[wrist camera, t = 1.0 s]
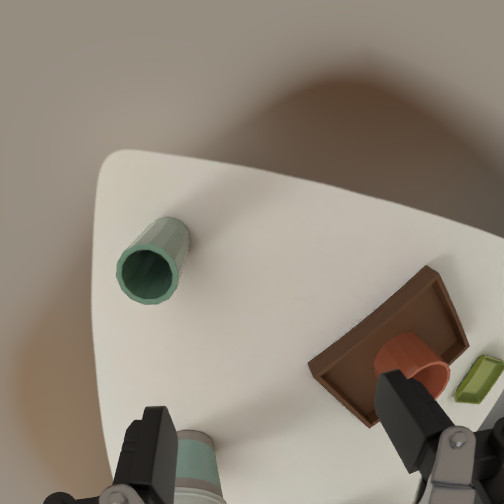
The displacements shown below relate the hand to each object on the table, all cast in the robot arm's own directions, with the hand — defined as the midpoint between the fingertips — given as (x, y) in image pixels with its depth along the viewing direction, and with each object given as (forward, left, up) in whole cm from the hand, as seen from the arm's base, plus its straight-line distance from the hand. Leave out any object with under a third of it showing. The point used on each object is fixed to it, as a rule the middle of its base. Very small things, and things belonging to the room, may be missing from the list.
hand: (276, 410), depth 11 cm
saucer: (-15, +41, -20) cm, 48 cm away
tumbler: (-6, +23, -20) cm, 31 cm away
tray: (-6, +22, -20) cm, 30 cm away
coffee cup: (+22, +16, -20) cm, 34 cm away
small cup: (+4, -5, -20) cm, 21 cm away
